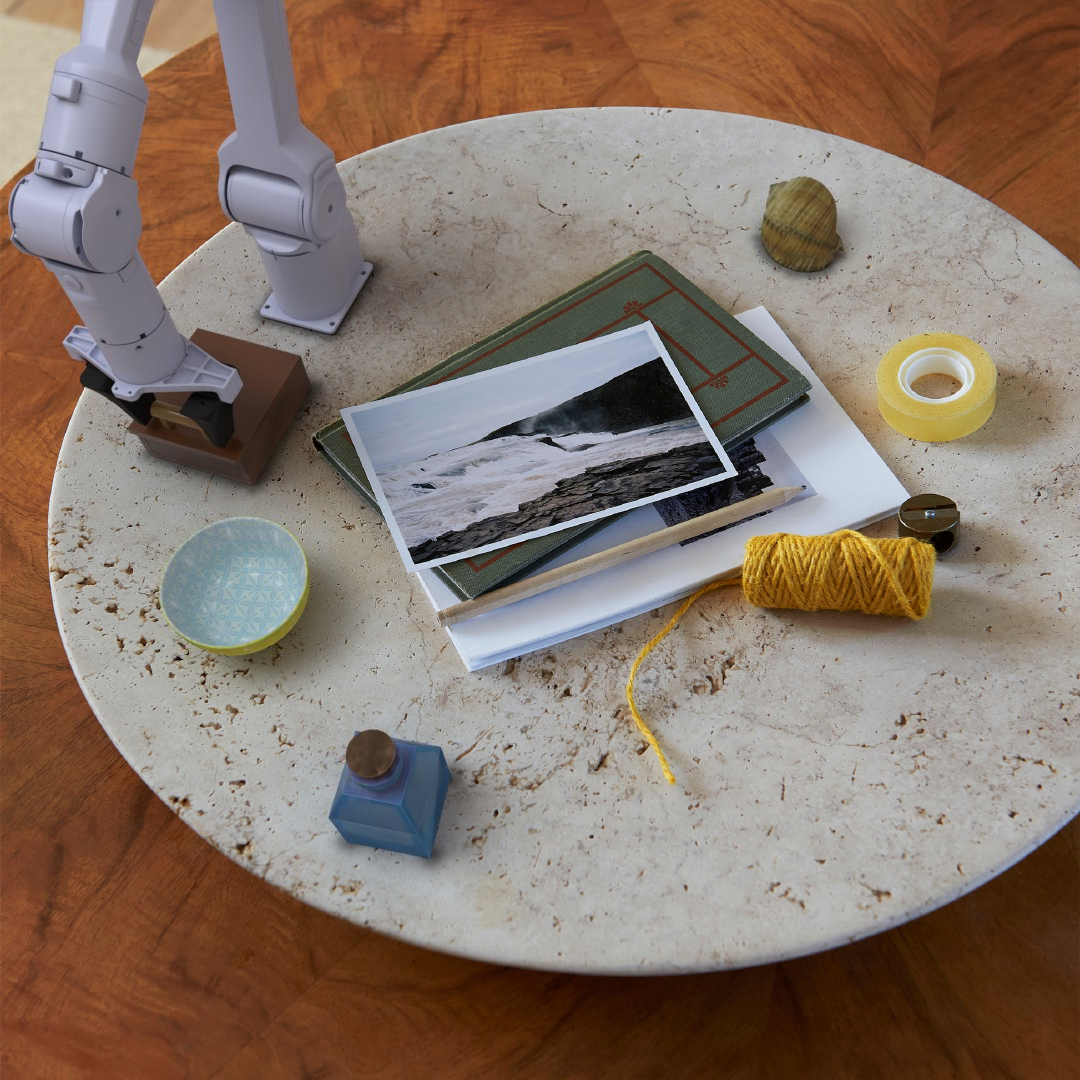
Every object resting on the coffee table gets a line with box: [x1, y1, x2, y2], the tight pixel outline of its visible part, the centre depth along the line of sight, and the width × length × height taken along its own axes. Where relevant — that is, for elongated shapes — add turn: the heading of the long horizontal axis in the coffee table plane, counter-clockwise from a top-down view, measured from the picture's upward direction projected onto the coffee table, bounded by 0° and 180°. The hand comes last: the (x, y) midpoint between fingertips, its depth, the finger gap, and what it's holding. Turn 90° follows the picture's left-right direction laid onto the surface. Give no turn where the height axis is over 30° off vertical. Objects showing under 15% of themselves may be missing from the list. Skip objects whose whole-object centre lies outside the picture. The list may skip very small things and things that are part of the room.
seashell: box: [760, 176, 845, 273], centre depth 102 cm, size 10×7×8 cm
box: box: [136, 360, 313, 487], centre depth 93 cm, size 12×11×4 cm
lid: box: [126, 327, 303, 465], centre depth 90 cm, size 12×11×4 cm
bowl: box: [158, 515, 311, 656], centre depth 82 cm, size 11×12×6 cm
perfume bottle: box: [327, 728, 452, 860], centre depth 71 cm, size 6×6×12 cm
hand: (187, 427), depth 88 cm, fingers open, 7 cm apart
